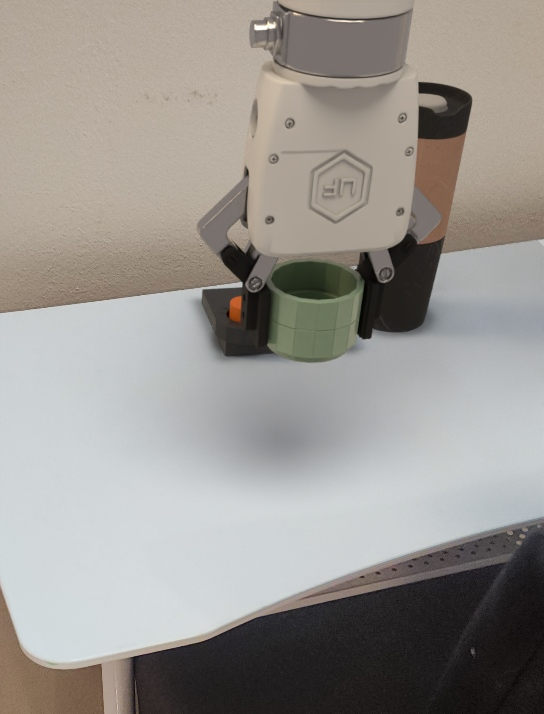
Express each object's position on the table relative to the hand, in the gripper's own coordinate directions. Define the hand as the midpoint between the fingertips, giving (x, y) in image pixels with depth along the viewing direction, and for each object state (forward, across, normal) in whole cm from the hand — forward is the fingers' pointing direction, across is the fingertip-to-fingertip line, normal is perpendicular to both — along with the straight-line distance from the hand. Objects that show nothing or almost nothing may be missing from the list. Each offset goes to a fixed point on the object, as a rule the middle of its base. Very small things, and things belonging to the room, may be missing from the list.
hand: (308, 332), depth 69 cm
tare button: (+10, +1, +23) cm, 25 cm away
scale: (+13, +5, +26) cm, 30 cm away
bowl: (+1, 0, 0) cm, 1 cm away
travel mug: (+13, +17, +27) cm, 34 cm away
